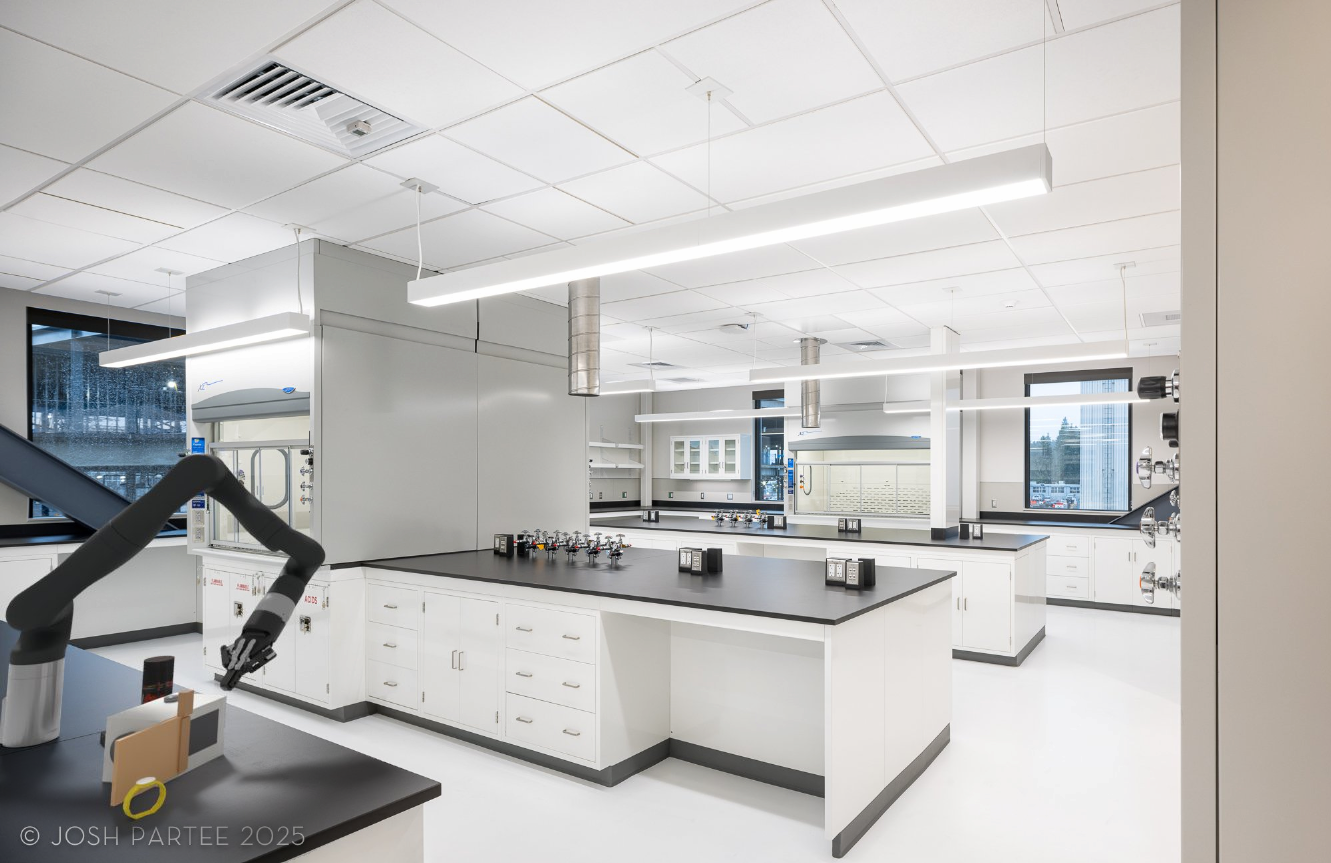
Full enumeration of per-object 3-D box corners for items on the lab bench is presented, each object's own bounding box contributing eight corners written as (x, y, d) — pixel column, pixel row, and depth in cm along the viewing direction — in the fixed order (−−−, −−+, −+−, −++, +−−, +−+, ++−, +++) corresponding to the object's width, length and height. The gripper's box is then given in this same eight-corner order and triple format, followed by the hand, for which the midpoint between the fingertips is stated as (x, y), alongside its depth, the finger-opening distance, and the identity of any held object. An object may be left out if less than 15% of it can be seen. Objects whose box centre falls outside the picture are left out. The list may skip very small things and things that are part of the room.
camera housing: (94, 785, 132) (99, 715, 133) (172, 749, 149) (176, 688, 150) (150, 790, 130) (155, 719, 131) (223, 754, 147) (227, 691, 148)
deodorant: (133, 725, 163) (137, 660, 164) (160, 718, 168) (164, 654, 169) (150, 729, 161) (154, 663, 162) (176, 721, 166) (180, 657, 167)
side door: (110, 805, 122) (116, 714, 123) (181, 770, 137) (186, 689, 138) (118, 806, 122) (124, 714, 123) (189, 771, 136) (194, 689, 137)
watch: (129, 825, 118) (128, 790, 118) (120, 821, 119) (120, 786, 119) (168, 808, 123) (168, 774, 123) (160, 805, 124) (159, 771, 124)
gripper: (235, 607, 158) (187, 677, 145) (288, 609, 156) (244, 681, 143) (251, 626, 162) (206, 696, 150) (303, 628, 160) (262, 699, 147)
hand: (225, 688), depth 146 cm, fingers closed
